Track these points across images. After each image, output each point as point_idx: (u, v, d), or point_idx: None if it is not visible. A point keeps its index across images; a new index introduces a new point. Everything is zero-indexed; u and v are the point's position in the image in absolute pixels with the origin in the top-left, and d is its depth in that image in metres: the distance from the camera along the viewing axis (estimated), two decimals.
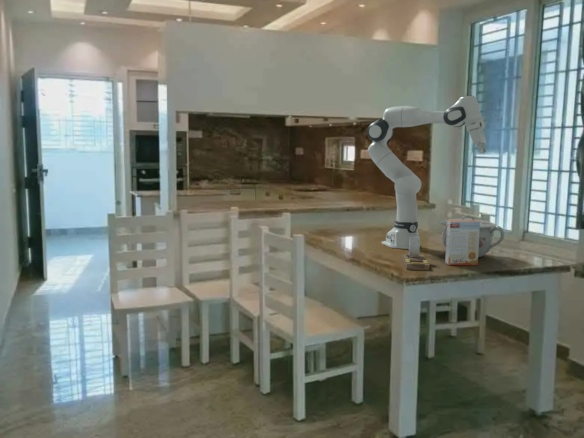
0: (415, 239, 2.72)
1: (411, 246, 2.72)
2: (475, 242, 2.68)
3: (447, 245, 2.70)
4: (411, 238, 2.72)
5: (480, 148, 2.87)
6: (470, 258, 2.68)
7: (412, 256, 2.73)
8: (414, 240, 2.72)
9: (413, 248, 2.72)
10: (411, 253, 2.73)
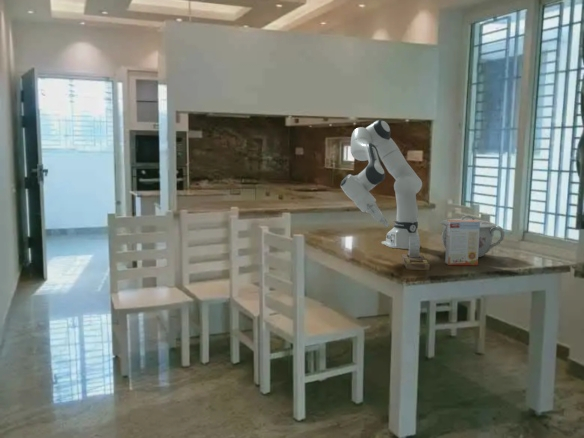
0: (415, 239, 2.72)
1: (411, 246, 2.72)
2: (475, 242, 2.68)
3: (447, 245, 2.70)
4: (411, 238, 2.72)
5: None
6: (470, 258, 2.68)
7: (412, 256, 2.73)
8: (414, 240, 2.72)
9: (413, 248, 2.73)
10: (411, 253, 2.73)
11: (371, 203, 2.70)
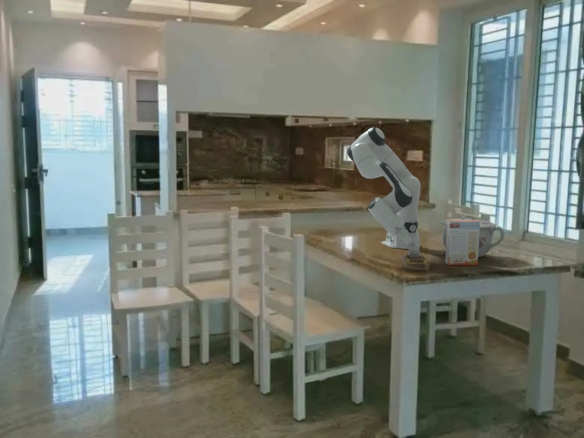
0: (415, 239, 2.72)
1: None
2: (475, 242, 2.68)
3: (447, 245, 2.70)
4: None
5: None
6: (470, 258, 2.68)
7: (412, 256, 2.73)
8: (414, 240, 2.72)
9: None
10: (411, 253, 2.73)
11: (400, 226, 2.70)
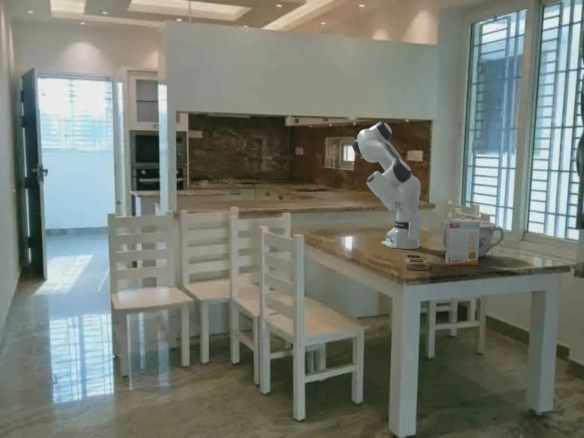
0: (415, 215, 2.59)
1: None
2: (475, 242, 2.68)
3: (447, 245, 2.70)
4: None
5: None
6: (470, 258, 2.68)
7: (412, 233, 2.61)
8: (414, 216, 2.60)
9: None
10: (411, 229, 2.61)
11: (399, 201, 2.58)
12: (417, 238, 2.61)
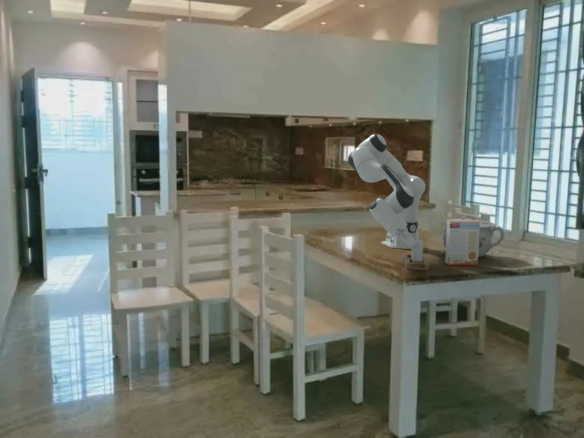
0: (418, 243, 2.60)
1: (414, 251, 2.61)
2: (475, 242, 2.68)
3: (447, 245, 2.70)
4: None
5: None
6: (470, 258, 2.68)
7: (415, 261, 2.61)
8: (417, 245, 2.60)
9: (416, 253, 2.61)
10: (414, 258, 2.61)
11: (402, 228, 2.58)
12: None
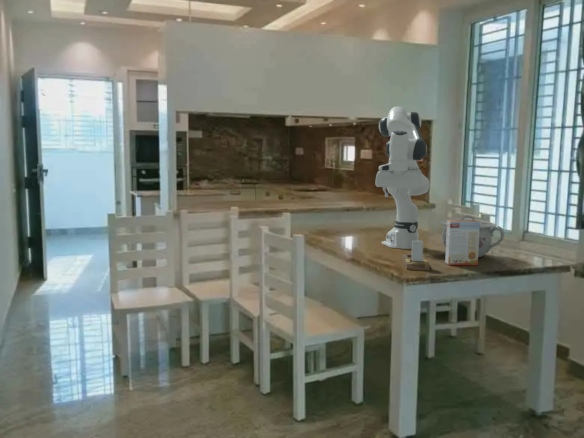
0: (418, 243, 2.60)
1: (414, 251, 2.61)
2: (475, 242, 2.68)
3: (447, 245, 2.70)
4: (414, 242, 2.60)
5: (384, 192, 2.65)
6: (470, 258, 2.68)
7: (415, 261, 2.61)
8: (417, 245, 2.60)
9: (416, 253, 2.61)
10: (414, 258, 2.61)
11: None
12: None
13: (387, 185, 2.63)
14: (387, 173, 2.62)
